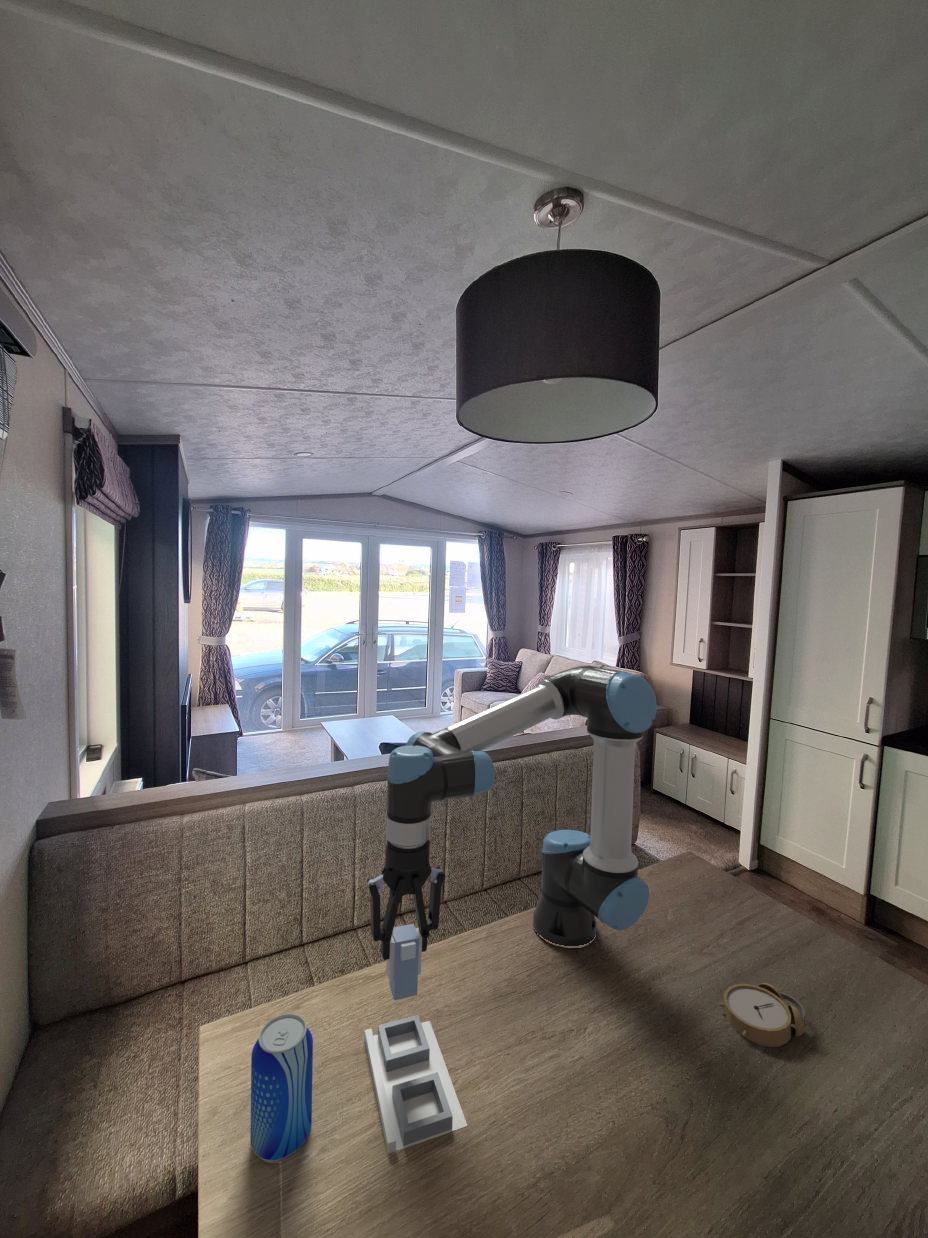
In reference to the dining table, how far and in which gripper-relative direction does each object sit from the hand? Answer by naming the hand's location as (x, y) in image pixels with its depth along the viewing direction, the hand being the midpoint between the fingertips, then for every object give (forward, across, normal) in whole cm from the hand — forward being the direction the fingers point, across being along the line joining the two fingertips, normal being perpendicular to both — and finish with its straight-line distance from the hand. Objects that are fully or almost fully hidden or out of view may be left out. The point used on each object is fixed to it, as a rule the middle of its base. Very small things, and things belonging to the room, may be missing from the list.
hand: (403, 972), depth 89 cm
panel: (+15, 0, +6) cm, 16 cm away
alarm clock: (+15, -68, +15) cm, 71 cm away
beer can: (+15, +20, +8) cm, 26 cm away
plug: (+3, 0, 0) cm, 3 cm away
